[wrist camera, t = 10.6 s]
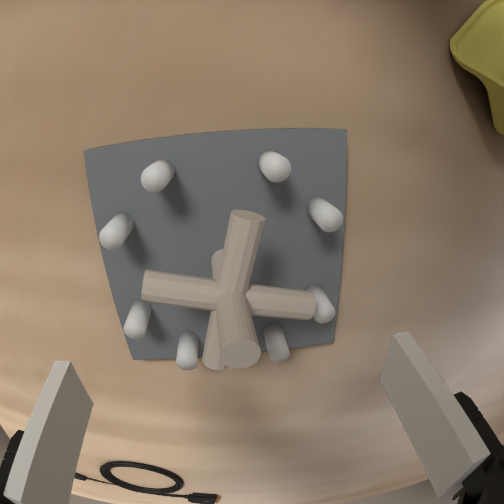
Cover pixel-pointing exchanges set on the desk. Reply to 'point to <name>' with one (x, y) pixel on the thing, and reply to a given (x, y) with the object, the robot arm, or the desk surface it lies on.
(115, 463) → the cable
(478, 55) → the plastic component
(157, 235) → the grey peg board
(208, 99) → the desk surface
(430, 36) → the desk surface
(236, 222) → the pipe connector
